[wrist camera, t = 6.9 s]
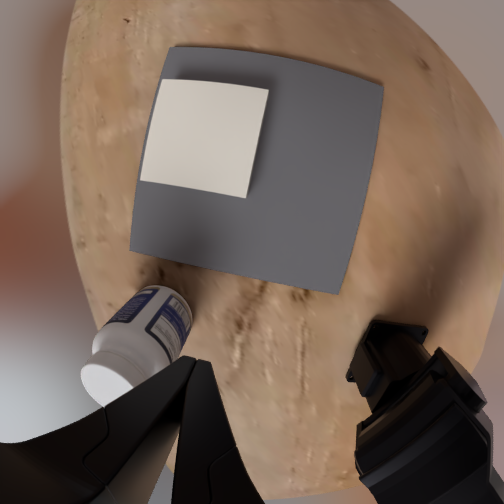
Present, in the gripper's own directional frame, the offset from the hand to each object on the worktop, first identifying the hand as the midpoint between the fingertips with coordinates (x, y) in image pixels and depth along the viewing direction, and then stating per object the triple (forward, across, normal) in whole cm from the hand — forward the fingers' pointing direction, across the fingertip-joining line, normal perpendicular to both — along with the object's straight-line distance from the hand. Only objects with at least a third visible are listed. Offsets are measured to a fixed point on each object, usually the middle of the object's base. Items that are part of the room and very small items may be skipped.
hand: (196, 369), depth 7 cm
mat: (+12, 0, -7) cm, 14 cm away
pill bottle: (+13, +5, +6) cm, 15 cm away
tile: (+11, 0, -8) cm, 13 cm away
